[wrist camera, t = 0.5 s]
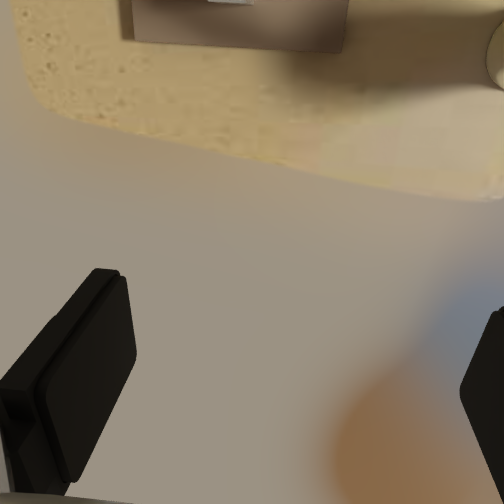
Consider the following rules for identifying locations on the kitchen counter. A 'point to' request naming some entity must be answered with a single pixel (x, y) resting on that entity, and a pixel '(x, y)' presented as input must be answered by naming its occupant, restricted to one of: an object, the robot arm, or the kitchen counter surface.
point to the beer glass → (496, 57)
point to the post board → (244, 23)
